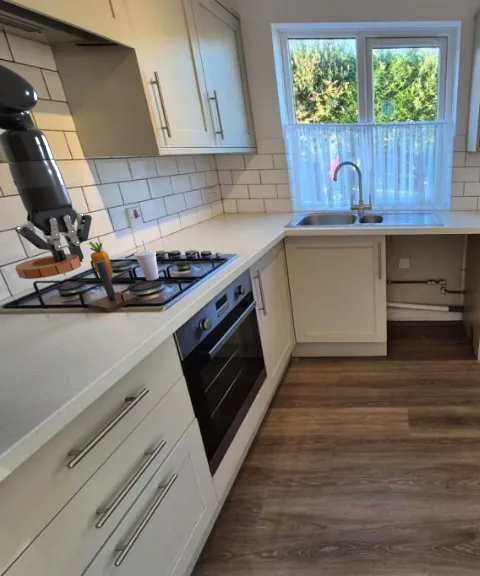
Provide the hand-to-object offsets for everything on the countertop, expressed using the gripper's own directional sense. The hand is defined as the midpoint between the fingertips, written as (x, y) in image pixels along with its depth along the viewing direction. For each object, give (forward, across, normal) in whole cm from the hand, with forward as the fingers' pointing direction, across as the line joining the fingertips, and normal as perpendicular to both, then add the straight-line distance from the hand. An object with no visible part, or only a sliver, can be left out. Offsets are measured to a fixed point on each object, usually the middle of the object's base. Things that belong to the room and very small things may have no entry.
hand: (71, 263), depth 80 cm
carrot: (+21, +27, +39) cm, 52 cm away
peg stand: (+21, +16, +20) cm, 33 cm away
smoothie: (+21, +35, +28) cm, 50 cm away
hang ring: (0, -4, 0) cm, 4 cm away
